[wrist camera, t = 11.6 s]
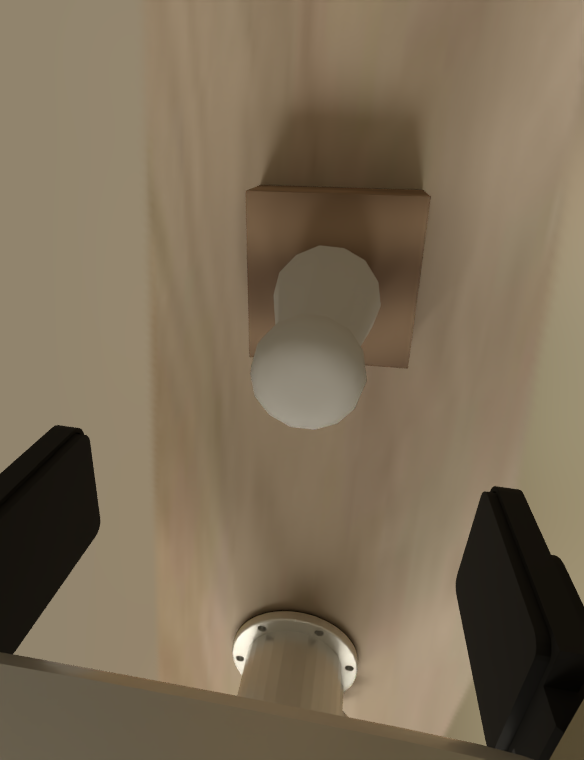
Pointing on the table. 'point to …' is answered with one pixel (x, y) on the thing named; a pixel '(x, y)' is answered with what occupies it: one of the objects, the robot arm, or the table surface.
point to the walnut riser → (344, 230)
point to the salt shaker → (316, 338)
